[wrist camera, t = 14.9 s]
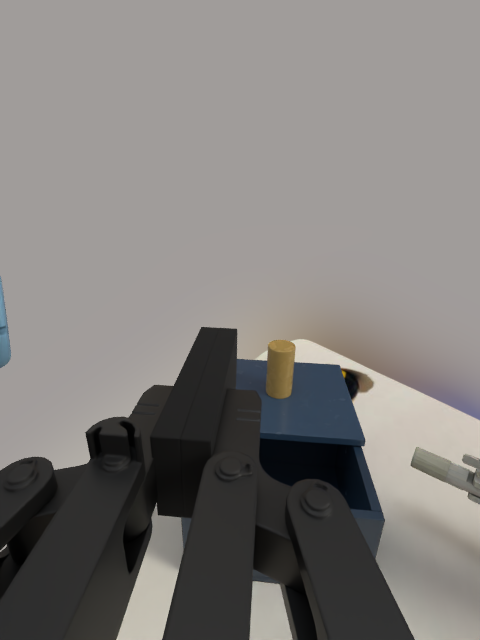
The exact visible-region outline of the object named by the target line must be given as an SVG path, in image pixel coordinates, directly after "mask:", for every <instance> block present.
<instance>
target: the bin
mask: <svg viewBox="0 0 480 640" xmlns="http://www.w3.org/2000/svg"><path fill="white" fill-rule="evenodd" d="M259 461H260V464H261V466H262V468H263V470H264V471H265V472H266V473H267V474H268V475H269V476H270V477H272V478H273V479H275V480H277V481H279V482H281V483H284V484H286V485H289V486H291V487H292V486H293V485H294V484H295V483H296V482H298V481H301V480H304V479H319V480H321V481H324V482H327V483H329V484H331V485H332V486H333V487H335V488H336V489H338V490H339V491H340V493H341V494H342V496H343V497H344V498H345V500H346V502H347V504H348V506H349V508H350V510H351V512H352V514H353V516H354V518H355V520H356V522H357V524H358V526H359V528H360V530H361V532H362V534H363V536H364V538H365V540H366V542H367V544H368V546H369V548H370V550H371V552H372V554H373V556H374V558H376V554H377V550H378V546H379V542H380V538H381V534H382V530H383V526H384V522H385V519H384V516H383V513H382V509H381V506H380V503H379V500H378V497H377V494H376V491H375V488H374V485H373V482H372V478H371V475H370V472H369V469H368V466H367V463H366V460H365V457H364V454H363V451H362V447H361V446H353V445H340V444H327V443H313V442H300V441H287V440H274V439H261V438H260V446H259ZM191 519H192V518H183V517H181V521H182V535H183V548H185V544H186V540H187V535H188V531H189V527H190V523H191ZM253 581H262V582H271V583H280V582H278V581H276V580H274V579H272V578H270V577H268V576H266V575H264V574H262V573H260V572H258V571H256V570H254V569H253Z"/></svg>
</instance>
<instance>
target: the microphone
mask: <svg viewBox="0 0 480 640" xmlns="http://www.w3.org/2000/svg"><path fill="white" fill-rule="evenodd" d="M462 461H463V463H465V464H468V465H470V466H472V467H475V468H477V469H476V471H475V473H473V472H471V471H469V469H466V468H464V467H462V466H459V465H457V464H455V463H452V462H451V461H449V460H447V459H444V458H442V457H440V456H437V455H435V454H433V453H430V452H428V451H426V450H423V449H421V448H419V447H417V448H416V450H415V453H414V455H413V458H412V461H411V466H412V467H413V468H416V469H418V470H420V471H422V472H424V473H426V474H428V475H430V476H432V477H435V478H437V479H439V480H441V481H443V482H446V483H448V484H450V485H452V486H455V487H457V488H459V489H461V490H465V491H467V492H469V493H468V498H469V499H470V500H472V501H474V502H476V503H478V504H480V459H478V458H476V457H473V456H471V455H468V454H465V455H464V456H463V459H462Z"/></svg>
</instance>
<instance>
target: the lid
mask: <svg viewBox="0 0 480 640" xmlns="http://www.w3.org/2000/svg"><path fill="white" fill-rule="evenodd" d="M294 359H295V345H294V344H293V343H292V342H290V341H286V340H274V341H272V342H270V343H269V344H268V358H267V361H262V360H244V359H237V373H236V389H240V390H255V391H257V393H258V395H259V396H260V398H261V400H262V406H261V426H260V438H261V439H274V440H287V441H300V442H313V443H327V444H340V445H353V446H364V445H365V438H364V435H363V432H362V429H361V426H360V423H359V420H358V418H357V415H356V412H355V409H354V406H353V403H352V400H351V397H350V394H349V392H348V389H347V386H346V383H345V380H344V377H343V374H342V371H341V369H340V366H339V365H331V364H314V363H297V362H294Z"/></svg>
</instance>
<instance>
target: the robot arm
mask: <svg viewBox="0 0 480 640" xmlns="http://www.w3.org/2000/svg"><path fill="white" fill-rule="evenodd" d="M10 357H11V350H10V341H9V333H8V325H7V317H6V309H5V302H4V295H3V288H2V281H1V277H0V368H1V367H3V366H5V365H6V364H7V363H8V362H9V360H10ZM236 373H237V329H229V328H209V327H201V329H200V331H199V334H198V336H197V338H196V340H195V342H194V344H193V346H192V348H191V351H190V353H189V355H188V357H187V359H186V361H185V363H184V366H183V367H182V369H181V372H180V374H179V376H178V378H177V380H176V382H175V384H174V386H164V385H154V386H152V387H151V388H150V389H148V390H147V391H146V392H144V393H143V395H142V396H141V398H140V400H139V401H138V403H137V405H136V406H135V408H134V410H133V411H132V414H131V415H130V416H129V418H126V417H113V418H109V419H105V420H102V421H100V422H98V423H96V424H95V425H93V426H92V427H91V428H90V429H89V430H88V431H87V432H86V438H87V443H88V448H89V453H90V458H91V459H90V461H89V462H88V463H87V464H84V465H80V466H76V467H70V468H64V469H58V470H54V469H53V466H52V463H51V461H49V460H47V459H46V458H42V457H31V458H24V459H21V460H19V461H16V462H14V463H12V464H10V465H8V466H7V467H5V468H4V469H2V470H1V471H0V550H1V549H2V548H3V547H4V546H5V545H6V544H7V547H6V548H5V549H4V550H2V551H1V552H0V640H116V639H117V636H118V633H119V630H120V627H121V624H122V621H123V618H124V615H125V612H126V609H127V606H128V603H129V600H130V597H131V594H132V591H133V588H134V585H135V582H136V579H137V576H138V573H139V570H140V567H141V564H142V561H143V558H144V555H145V552H146V549H147V546H148V543H149V541H150V538H151V533H152V520H151V517H152V514H153V511H154V508H155V505H156V503H157V509H158V515H162V516H172V517H183V518H192V519H191V523H190V527H189V531H188V535H187V540H186V544H185V548H184V552H183V556H182V560H181V564H180V569H179V573H178V577H177V581H176V585H175V589H174V593H173V598H172V602H171V606H170V610H169V614H168V618H167V622H166V627H165V631H164V635H163V639H162V640H249V636H250V618H251V599H252V581H253V569H254V570H256V571H258V572H260V573H262V574H264V575H266V576H268V577H270V578H272V579H274V580H276V581H278V582H280V586H281V590H282V595H283V599H284V603H285V608H286V612H287V616H288V620H289V625H290V629H291V633H292V638H293V640H415V639H414V637H413V635H412V633H411V631H410V629H409V627H408V625H407V623H406V621H405V619H404V617H403V615H402V613H401V611H400V609H399V607H398V605H397V603H396V601H395V599H394V597H393V595H392V593H391V591H390V589H389V587H388V585H387V583H386V580H385V578H384V576H383V574H382V572H381V570H380V568H379V566H378V564H377V562H376V560H375V558H374V556H373V554H372V552H371V550H370V548H369V546H368V544H367V542H366V540H365V538H364V536H363V534H362V532H361V530H360V528H359V526H358V524H357V522H356V520H355V518H354V516H353V514H352V512H351V510H350V508H349V506H348V504H347V502H346V500H345V498H344V497H343V496H342V494H341V493H340V491H339V490H338V489H336V488H335V487H333V486H332V485H331V484H329V483H327V482H324V481H321V480H319V479H304V480H301V481H298V482H296V483H295V484H294V485H293V486H292V487H291V486H289V485H286V484H284V483H281V482H279V481H277V480H275V479H273V478H272V477H270V476H269V475H268V474H267V473H266V472H265V471H264V470H263V468H262V466H261V464H260V461H259V446H260V426H261V406H262V400H261V398H260V396H259V395H258V393H257V391H255V390H240V389H236Z"/></svg>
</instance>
